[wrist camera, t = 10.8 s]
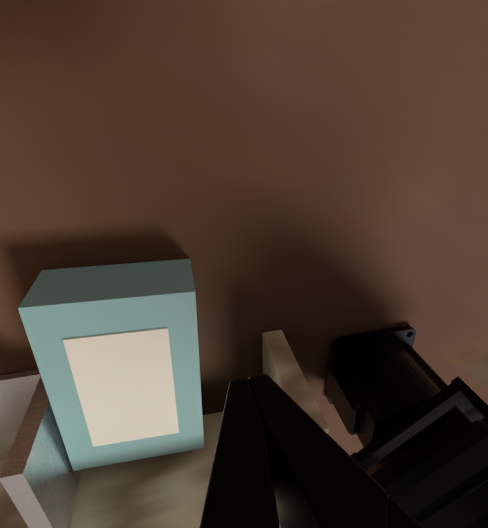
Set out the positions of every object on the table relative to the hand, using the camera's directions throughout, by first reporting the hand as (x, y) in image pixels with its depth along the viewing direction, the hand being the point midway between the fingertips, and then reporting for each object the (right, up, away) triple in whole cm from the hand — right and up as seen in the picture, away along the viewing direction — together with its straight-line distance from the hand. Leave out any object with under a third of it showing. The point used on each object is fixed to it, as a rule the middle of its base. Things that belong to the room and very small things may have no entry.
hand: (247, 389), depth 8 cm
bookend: (-15, -7, +15) cm, 22 cm away
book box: (-7, -2, +15) cm, 17 cm away
